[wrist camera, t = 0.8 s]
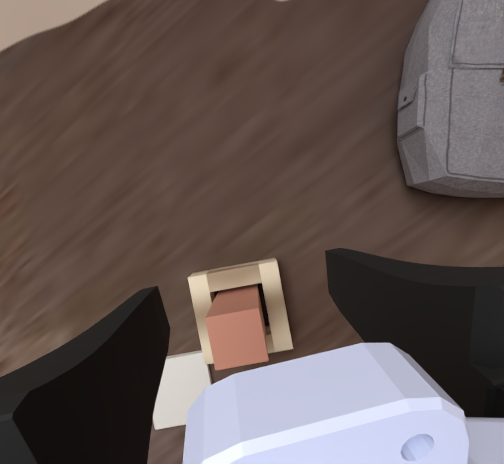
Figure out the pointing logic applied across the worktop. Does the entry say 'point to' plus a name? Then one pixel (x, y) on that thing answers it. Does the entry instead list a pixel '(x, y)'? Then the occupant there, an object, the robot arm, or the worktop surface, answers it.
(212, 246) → the worktop surface
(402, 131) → the grey rounded bag
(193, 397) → the mat
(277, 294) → the pocket holder
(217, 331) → the peg
